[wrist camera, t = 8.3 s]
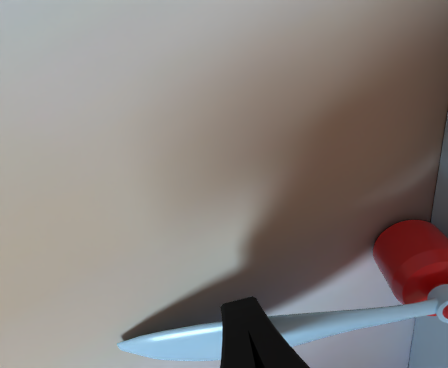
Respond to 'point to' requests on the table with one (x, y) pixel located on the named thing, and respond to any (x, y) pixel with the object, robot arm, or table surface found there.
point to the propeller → (336, 320)
